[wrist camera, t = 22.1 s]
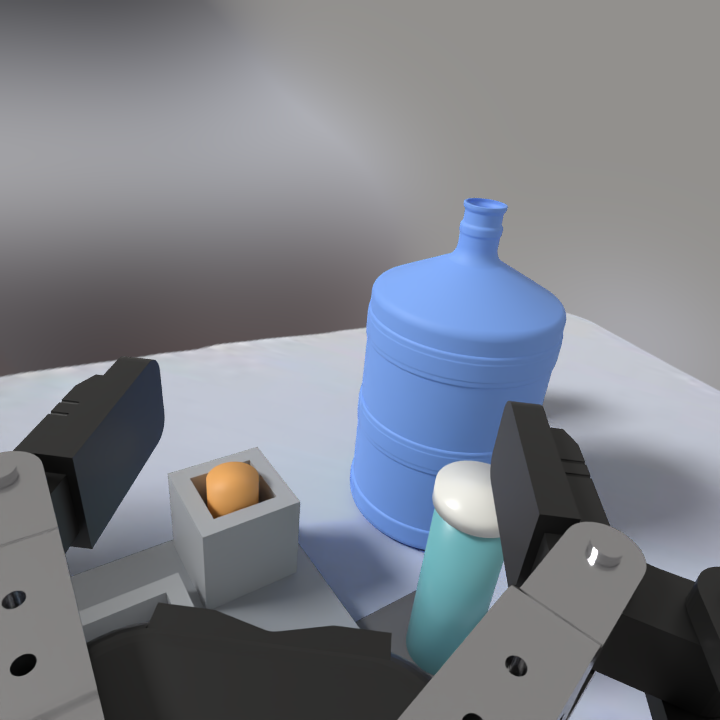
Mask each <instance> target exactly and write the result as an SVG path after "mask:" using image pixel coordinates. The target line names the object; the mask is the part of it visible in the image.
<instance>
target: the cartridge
mask: <svg viewBox="0 0 720 720" xmlns="http://www.w3.org/2000/svg"><path fill="white" fill-rule="evenodd" d="M490 467H491V465H490V464H487V463H483V462H478V461H457V462H453V463H450V464H448V465H446V466H444V467H443V468H442V469H441V470H440V471H439V472H438V474H437V476H436V480H435V485H434V490H433V494H432V501H433V505H434V507H435V508H434V513H433V517H432V522H431V526H430V531H429V536H428V540H427V545H426V549H425V554H424V558H423V563H422V567H421V572H420V576H419V581H418V585H417V590H416V594H415V599H414V603H413V608H412V612H411V617H410V621H409V626H408V630H407V635H406V646H407V650H408V653H409V655H410V657H411V658H412V660H413V661H414V662H415V663H416V664H417V665H418V666H419V667H420V668H421V669H423V670H424V671H426V672H427V673H429V674H432V675H435V674H436V673H437V672H438V671H439V669H440V668H441V667H442V666H443V665H444V663H445V662H446V661H447V660H448V659H449V657H450V656H451V655H452V654H453V653H454V652H455V650H456V649H457V648H458V647H459V646H460V644H461V643H462V642H463V641H464V640H465V638H466V637H467V636H468V635H469V634H470V632H471V631H472V630H473V629H474V628H475V626H476V625H477V624H478V623H479V622H480V621H481V619H482V618H483V617H484V616H485V615H486V613H487V612H488V609H489V606H490V602H491V599H492V596H493V593H494V589H495V586H496V583H497V580H498V577H499V573H500V570H501V567H502V564H503V561H504V559H503V552H502V546H501V540H500V534H499V528H498V522H497V516H496V510H495V504H494V498H493V492H492V486H491V479H490Z"/></svg>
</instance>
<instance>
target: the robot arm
mask: <svg viewBox="0 0 720 720" xmlns="http://www.w3.org/2000/svg"><path fill="white" fill-rule="evenodd" d="M163 428H164V406H163V396H162V387H161V377H160V369H159V365H158V363H157V361H156V360H151V359H143V358H134V357H126V356H122V357H120V358H119V359H118V360H117V361H116V362H115V363H114V364H113V365H112V366H111V368H110V369H109V370H108V371H107V372H106V373H105V374H104V375H94V376H92V377H90V378H89V379H87V380H85V381H83V382H81V383H79V384H77V385H76V386H75V387H74V388H73V389H72V390H71V391H70V392H69V393H68V394H67V395H66V396H65V397H64V398H63V399H62V402H61V403H60V402H59V403H58V404H57V405H56V406H55V407H54V408H53V410H52V411H51V414H48V415H47V416H46V417H45V418H44V419H43V420H42V421H41V422H40V423H39V424H38V425H37V426H36V427H35V428H34V429H33V430H32V431H31V432H30V434H29V435H28V436H27V437H26V438H25V439H24V440H23V441H22V442H21V443H20V444H19V445H18V446H17V447H16V448H15V449H14V450H13V451H9V452H2V453H0V720H569V718H570V717H571V715H572V713H573V711H574V710H575V708H576V706H577V704H578V703H579V701H580V699H581V697H582V696H583V694H584V692H585V690H586V689H587V687H588V685H589V683H590V682H591V680H592V678H593V676H594V675H595V673H596V671H597V672H599V673H601V674H604V675H606V676H608V677H610V678H613V679H615V680H617V681H620V682H622V683H624V684H627V685H629V686H631V687H633V688H636V689H638V690H640V691H643V692H645V695H646V698H647V702H648V705H649V709H650V712H651V716H652V719H653V720H720V567H711V568H707V569H705V570H703V571H702V572H701V573H700V575H699V577H698V578H697V580H696V582H694V581H691V580H688V579H686V578H683V577H680V576H677V575H675V574H672V573H669V572H667V571H664V570H661V569H658V568H656V567H654V566H651V565H649V564H647V563H646V560H645V557H644V555H643V553H642V551H641V550H640V548H639V547H638V546H637V545H636V543H634V542H633V541H632V540H631V539H630V538H629V537H628V536H626V535H625V534H623V533H622V532H620V531H619V530H617V529H615V528H613V527H610V524H609V522H608V519H607V517H606V514H605V512H604V509H603V507H602V504H601V501H600V499H599V496H598V494H597V491H596V489H595V486H594V484H593V481H592V479H590V473H589V471H588V468H587V466H586V465H585V461H584V458H583V456H582V453H581V450H580V448H579V445H578V444H577V443H576V442H575V441H574V440H573V439H572V438H571V437H570V436H569V435H568V434H567V433H566V432H565V431H564V430H563V429H557V428H550V426H549V423H548V420H547V417H546V414H545V411H544V408H543V406H542V405H540V404H532V403H524V402H515V401H507V403H506V405H505V407H504V410H503V414H502V418H501V422H500V426H499V430H498V434H497V438H496V441H495V445H494V449H493V453H492V458H491V467H490V479H491V486H492V492H493V498H494V504H495V510H496V516H497V522H498V528H499V534H500V540H501V546H502V552H503V559H504V565H505V571H506V577H507V583H508V589H507V590H506V591H505V592H504V593H503V594H502V595H501V597H500V598H499V599H498V600H497V601H496V603H495V604H494V605H493V606H492V607H491V609H490V610H489V611H488V612H487V613H486V615H485V616H484V617H483V618H482V619H481V621H480V622H479V623H478V624H477V625H476V626H475V628H474V629H473V630H472V631H471V632H470V634H469V635H468V636H467V637H466V638H465V640H464V641H463V642H462V643H461V644H460V646H459V647H458V648H457V649H456V650H455V652H454V653H453V654H452V655H451V656H450V657H449V659H448V660H447V661H446V662H445V663H444V665H443V666H442V667H441V668H440V669H439V671H438V672H437V673H436V674H435V675H434V677H433V678H432V677H431V676H430V675H429V674H428V673H427V672H426V671H424V670H423V669H421V668H420V667H418V666H417V665H416V664H414V663H412V662H411V661H409V660H407V659H405V658H403V657H401V656H399V655H397V654H394V653H392V652H391V637H392V633H389V632H381V631H374V630H366V629H358V628H351V627H343V626H335V625H332V626H323V627H313V628H304V629H295V630H285V631H267V630H264V629H262V628H259V627H257V626H254V625H252V624H249V623H247V622H244V621H242V620H239V619H237V618H234V617H232V616H229V615H227V614H224V613H222V612H219V611H217V610H213V609H205V608H198V607H190V606H182V605H175V604H167V603H159V602H158V604H157V606H156V608H155V610H154V613H153V615H152V617H151V619H150V621H148V622H141V623H136V624H132V625H127V626H124V627H121V628H118V629H115V630H112V631H110V632H108V633H105V634H103V635H101V636H98V637H96V638H95V639H93V640H91V641H89V642H86V637H85V633H84V629H83V625H82V621H81V617H80V613H79V609H78V605H77V601H76V597H75V593H74V588H73V584H72V580H71V576H70V572H69V568H68V564H67V560H66V556H65V553H66V552H67V550H68V549H69V547H70V546H74V547H81V548H89V549H92V548H93V546H94V545H95V543H96V542H97V540H98V538H99V537H100V535H101V534H102V532H103V530H104V529H105V527H106V526H107V524H108V522H109V521H110V519H111V518H112V516H113V514H114V513H115V511H116V510H117V508H118V506H119V505H120V503H121V502H122V500H123V498H124V497H125V495H126V494H127V492H128V490H129V489H130V487H131V486H132V484H133V482H134V481H135V479H136V478H137V476H138V474H139V473H140V471H141V470H142V468H143V466H144V465H145V463H146V462H147V460H148V458H149V457H150V455H151V454H152V452H153V450H154V449H155V447H156V446H157V444H158V442H159V440H160V438H161V435H162V432H163Z"/></svg>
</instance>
